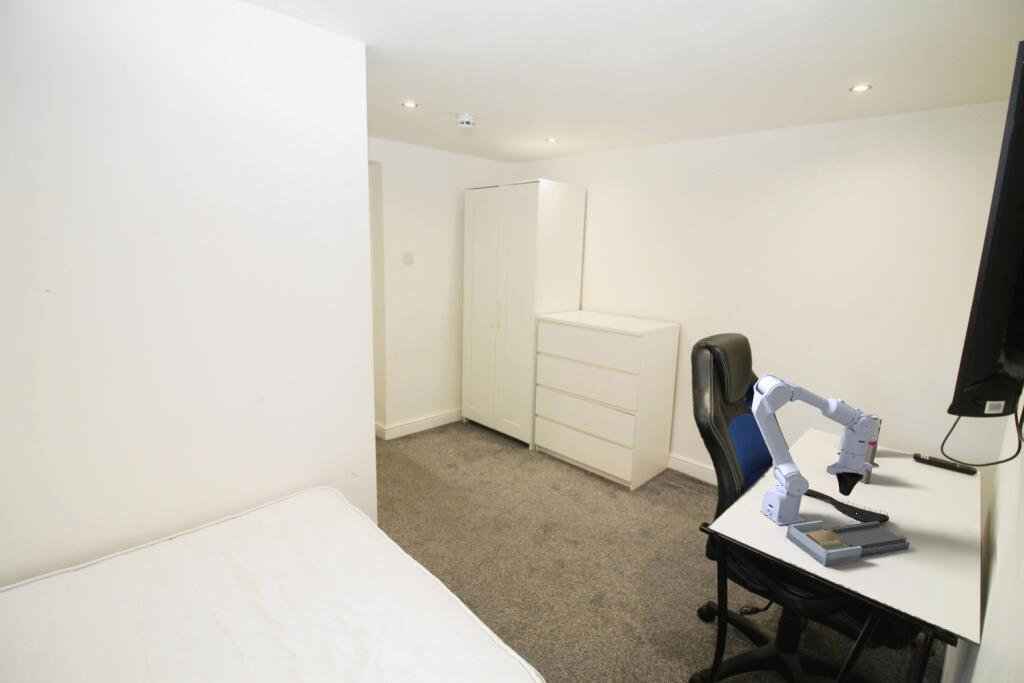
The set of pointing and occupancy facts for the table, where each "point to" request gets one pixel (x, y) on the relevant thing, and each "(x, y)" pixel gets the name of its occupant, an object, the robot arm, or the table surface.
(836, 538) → the cream square block
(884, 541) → the slotted bar
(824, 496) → the hairbrush
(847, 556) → the tray
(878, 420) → the candy bar box
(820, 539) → the brass chip
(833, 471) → the robot arm
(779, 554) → the table surface
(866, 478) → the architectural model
